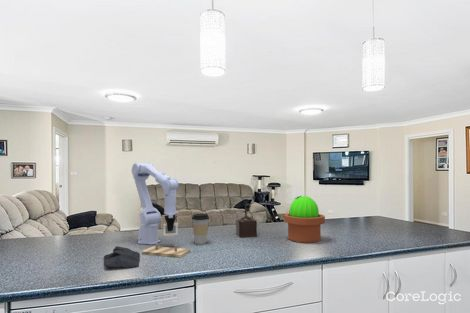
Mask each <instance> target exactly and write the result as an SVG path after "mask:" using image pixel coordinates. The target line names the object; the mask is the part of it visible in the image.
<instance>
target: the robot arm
mask: <svg viewBox="0 0 470 313" xmlns="http://www.w3.org/2000/svg"><path fill="white" fill-rule="evenodd" d="M131 173H132V177H133V180H134V183H135V187H136V191H137V194H138V197H139V200H140V205H141V207H142V210H141V212H140V213H139V217H140V218H139V221H140V224H141V225H140V227H139V228H138V241H137V244H143V245H156V243H158V244H159V242H161V241H162V240H160V239H158V237H159V236H158V228H159V226H160V224H161V221H162V215H161V213H160V212H159V210H158V209H157V208H156V207H154V206H153V202H152V199H151V196H150V193H149V189H148V186H147V183H146V180H148V179H149V178H150V176H151V177H153V178H154V179H155V182H156V183H157V184H159V185H160V186H161V187H162V190H163V195H164V212H163V214H164V219H165V222H166V223H167V228H168V231H172V230H173V225H174V223H175V221H176V219H177V216H176V214H179V211H177V190H178V189H179V186H180V185H179V181H178V180H177V179H175V178H173V179H172V178H171V177H170V176H168V175H166V172H160V171H158V170H157V169H155V167H154V166H153V164H151V163H150V162H147V163H145V162H134V163H133V164H132V167H131Z"/></svg>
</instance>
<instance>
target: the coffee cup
mask: <svg viewBox="0 0 470 313" xmlns="http://www.w3.org/2000/svg"><path fill="white" fill-rule="evenodd" d="M191 219H192V230H193V236H194V237H193V238H194V243H195V244H196V245H204V244H206V243H207V236H208V230H209V219H210V216H209V214H208V213H195V214H193V215H192V217H191Z"/></svg>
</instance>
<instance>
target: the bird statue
mask: <svg viewBox="0 0 470 313" xmlns="http://www.w3.org/2000/svg"><path fill="white" fill-rule="evenodd" d="M244 207H245V208H244V210H243V211H242V212H243V213H245V215H244V216H242V217H240V218H236V219H235V234H236V236H237V237H238V238H243V239H244V238H256V237H258V230H257V229H258V228H257V226H258V223H257V220H256V219H255V218H254V217H252V215H251V216H249V215H247V214H248V213H247V212H251V207H252V206H251V204H250V203H245V205H244Z"/></svg>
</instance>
